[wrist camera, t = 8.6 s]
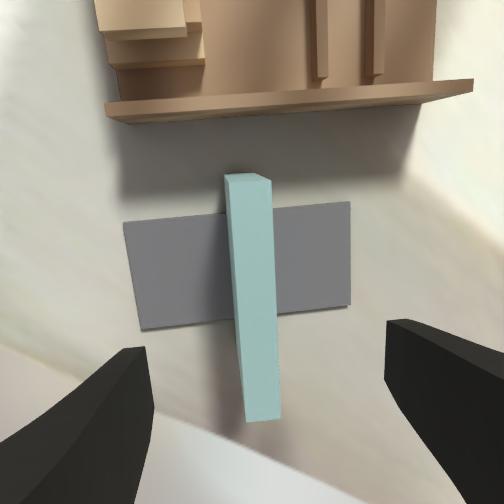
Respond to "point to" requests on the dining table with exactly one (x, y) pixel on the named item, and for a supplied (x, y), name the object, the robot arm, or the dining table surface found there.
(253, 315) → the teal rectangular block
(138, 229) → the mat
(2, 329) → the dining table surface
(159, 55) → the rack
